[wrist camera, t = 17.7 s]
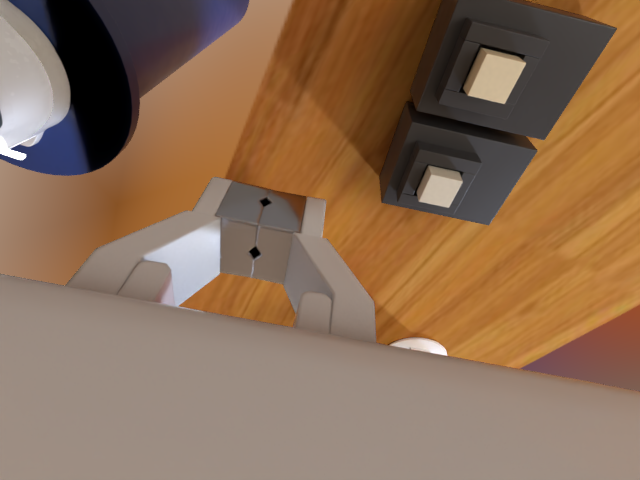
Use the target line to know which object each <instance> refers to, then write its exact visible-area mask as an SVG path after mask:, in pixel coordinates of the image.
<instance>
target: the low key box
mask: <svg viewBox="0 0 640 480" xmlns="http://www.w3.org/2000/svg"><path fill="white" fill-rule="evenodd" d="M536 152H537V149H536V148H535V147H534V146H533V144H532V143H531V142H530V141H529V140H528V138H527V137H526V136H524V135H520V134H515V133H511V132H507V131H502V130H498V129H494V128H489V127H485V126H480V125H476V124H472V123H467V122H463V121H459V120H454V119H450V118H446V117H441V116H437V115H433V114H428V113H424V112H419V111H416V108H415V105H414V103H410V102H406V103H405V106H404V109H403V112H402V114H401V117H400V120H399V123H398V126H397V129H396V131H395V134H394V137H393V140H392V143H391V146H390V148H389V151H388V154H387V157H386V160H385V163H384V166H383V168H382V171H381V174H380V177H379V179H380V190H381V201H382V203H386V204H390V205H395V206H400V207H405V208H409V209H414V210H419V211H424V212H428V213H433V214H438V215H443V216H447V217H452V218H457V219H462V220H466V221H471V222H476V223H481V224H485V225H489V224H490V223H491V221H492V220H493V218H494V217H495V215H496V214H497V212H498V211H499V209H500V208H501V206H502V205H503V203H504V201H505V200H506V198H507V197H508V195H509V194H510V192H511V191H512V189H513V188H514V186H515V185H516V183H517V182H518V180H519V178H520V177H521V175H522V174H523V172H524V171H525V169H526V168H527V166H528V165H529V163H530V162H531V160H532V159H533V157H534V156H535V154H536ZM428 165H430V166H435V167H439V168H444V169H448V170H453V171H457V172H459V173H460V176H461V178H462V180H463V182H462V184H461V186H460V188H459V190H458V192H457V194H456V195H455V197H454V199H453V201H452V203H451V205H450V207H449V208H447V207H442V206H438V205H433V204H428V203H423V202H419V200H418V196H417V189H418V187H419V185H420V183H421V180H422V178H423V176H424V174H425V171H426V169H427V167H428Z"/></svg>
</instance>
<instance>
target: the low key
mask: <svg viewBox="0 0 640 480" xmlns="http://www.w3.org/2000/svg"><path fill="white" fill-rule="evenodd" d="M462 182H463V180H462V178H461V176H460V173H459V172H457V171H453V170H448V169H444V168H439V167H435V166H430V165H428V167H427V169H426V171H425V174H424V176H423V178H422V180H421V183H420V185H419V187H418V189H417V196H418V200H419V202H423V203H428V204H433V205H438V206H442V207H447V208H449V207H450V205H451V203H452V201H453V199H454V197H455V195H456V194H457V192H458V190H459V188H460V186H461V184H462Z"/></svg>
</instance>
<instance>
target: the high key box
mask: <svg viewBox="0 0 640 480" xmlns="http://www.w3.org/2000/svg"><path fill="white" fill-rule="evenodd" d="M616 30H617V28H615V27H613V26H610V25H607V24H605V23H602V22H599V21H596V20H594V19H591V18H588V17H586V16H583V15H579V14H575V13H571V12H567V11H563V10H559V9H555V8H551V7H547V6H544V5H540V4H536V3H532V2H528V1H524V0H442V1H441V4H440V7H439V10H438V13H437V15H436V18H435V21H434V24H433V27H432V30H431V32H430V35H429V38H428V41H427V44H426V47H425V49H424V52H423V55H422V58H421V61H420V64H419V66H418V69H417V72H416V75H415V78H414V81H413V83H412V86H411V89H410V93H411V96H412V99H413V102H414V105H415V108H416V111H419V112H424V113H428V114H433V115H437V116H441V117H446V118H450V119H454V120H459V121H463V122H467V123H472V124H476V125H480V126H485V127H489V128H494V129H498V130H502V131H507V132H511V133H515V134H520V135H524V136H528V137H533V138H537V139H541V140H545V139H546V137H547V135H548V134H549V132H550V131H551V129H552V128H553V126H554V125H555V123H556V122H557V120H558V119H559V117H560V116H561V114H562V112H563V111H564V109H565V108H566V106H567V105H568V103H569V102H570V100H571V99H572V97H573V96H574V94H575V93H576V91H577V89H578V88H579V86H580V85H581V83H582V82H583V80H584V79H585V77H586V76H587V74H588V73H589V71H590V70H591V68H592V66H593V65H594V63H595V62H596V60H597V59H598V57H599V56H600V54H601V53H602V51H603V50H604V48H605V47H606V45H607V43H608V42H609V40H610V39H611V37H612V36H613V34H614V33H615V31H616ZM480 48H485V49H489V50H493V51H498V52H502V53H506V54H510V55H514V56H518V57H519V58H521V59H522V60H523V61H524V62H526V65H525V67H524V69H523V70H522V72H521V74H520V76H519V78H518V80H517V82H516V84H515V85H514V87H513V89H512V91H511V93H510V95H509V97H508V98H507V100H506V102H505V104H502V103H498V102H493V101H489V100H485V99H481V98H476V97H472V96H468V95H467V94H466V92H465V91H464V89H463V86H464V84H465V81H466V79H467V77H468V75H469V72H470V70H471V68H472V66H473V63H474V61H475V59H476V57H477V54H478V52H479V50H480Z"/></svg>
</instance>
